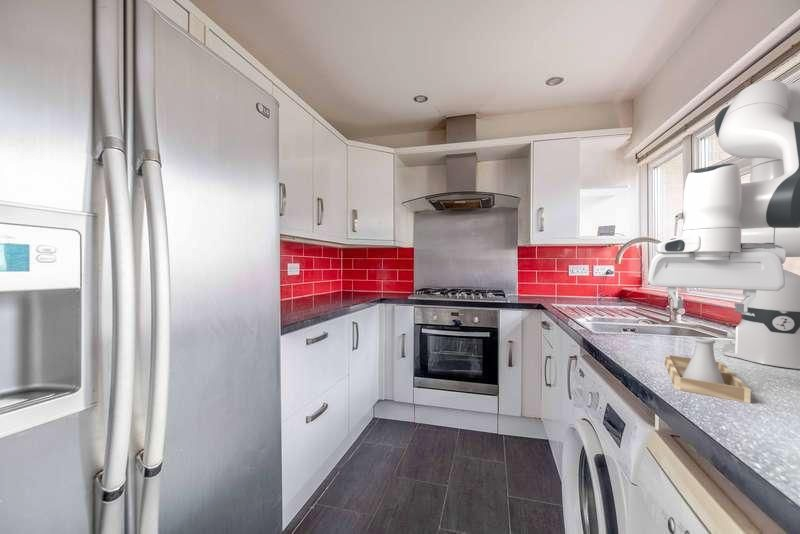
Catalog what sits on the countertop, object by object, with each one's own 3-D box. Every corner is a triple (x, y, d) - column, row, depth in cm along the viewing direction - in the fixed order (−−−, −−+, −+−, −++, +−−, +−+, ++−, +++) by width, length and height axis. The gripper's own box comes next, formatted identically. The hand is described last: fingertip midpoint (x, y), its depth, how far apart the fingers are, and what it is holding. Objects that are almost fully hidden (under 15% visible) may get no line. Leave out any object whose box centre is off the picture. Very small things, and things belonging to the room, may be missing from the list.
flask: (737, 395, 62) (739, 344, 62) (691, 390, 64) (693, 341, 64) (713, 382, 69) (714, 336, 68) (672, 378, 71) (674, 333, 71)
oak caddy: (664, 364, 82) (664, 354, 82) (722, 372, 76) (722, 362, 75) (675, 389, 65) (675, 377, 65) (750, 403, 59) (750, 389, 59)
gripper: (779, 242, 62) (777, 312, 63) (647, 245, 74) (646, 304, 75) (793, 241, 57) (790, 317, 58) (649, 244, 69) (648, 307, 69)
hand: (708, 310), depth 66 cm, fingers open, 8 cm apart
